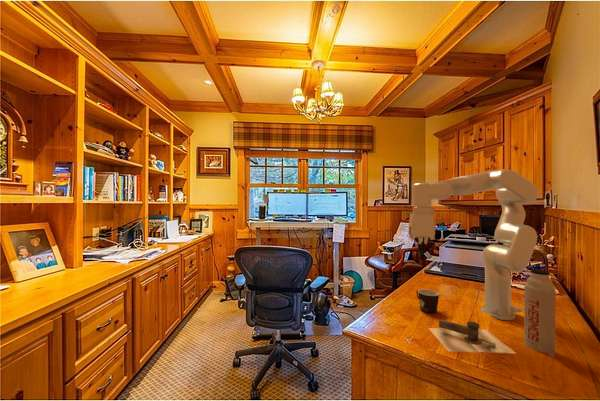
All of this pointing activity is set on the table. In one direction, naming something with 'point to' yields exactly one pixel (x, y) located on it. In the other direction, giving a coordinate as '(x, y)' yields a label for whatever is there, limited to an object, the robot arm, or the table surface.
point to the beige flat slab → (469, 342)
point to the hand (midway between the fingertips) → (421, 252)
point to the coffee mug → (428, 300)
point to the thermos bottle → (539, 312)
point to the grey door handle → (464, 329)
